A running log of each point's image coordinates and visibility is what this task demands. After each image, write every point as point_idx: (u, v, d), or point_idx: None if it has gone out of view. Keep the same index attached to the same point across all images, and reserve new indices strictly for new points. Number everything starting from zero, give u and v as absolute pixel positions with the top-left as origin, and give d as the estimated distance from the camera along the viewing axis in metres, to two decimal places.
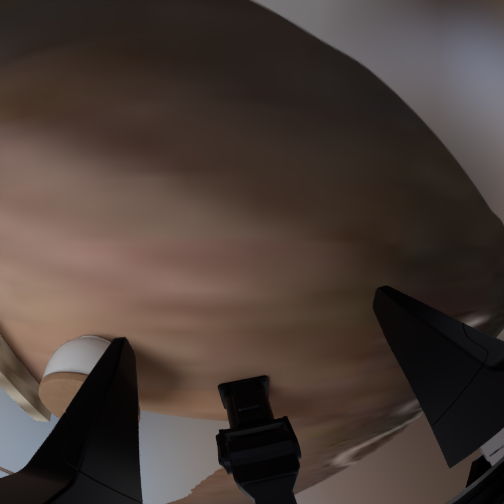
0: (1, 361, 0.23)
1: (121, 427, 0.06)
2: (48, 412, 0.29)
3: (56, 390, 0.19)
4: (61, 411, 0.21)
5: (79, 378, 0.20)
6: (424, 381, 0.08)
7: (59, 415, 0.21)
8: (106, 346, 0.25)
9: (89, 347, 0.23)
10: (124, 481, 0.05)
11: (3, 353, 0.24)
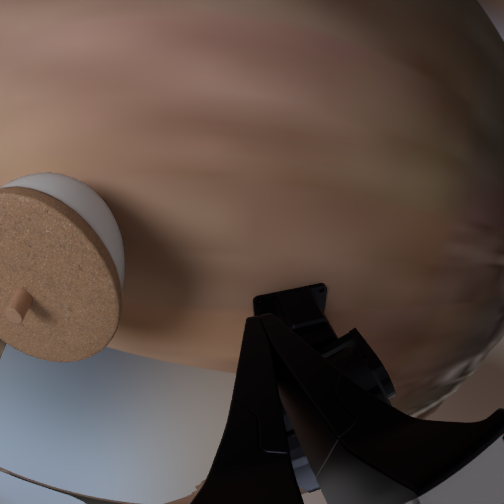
0: None
1: None
2: None
3: None
4: None
5: (16, 191, 0.09)
6: (299, 430, 0.07)
7: None
8: (82, 182, 0.14)
9: (53, 173, 0.13)
10: None
11: None
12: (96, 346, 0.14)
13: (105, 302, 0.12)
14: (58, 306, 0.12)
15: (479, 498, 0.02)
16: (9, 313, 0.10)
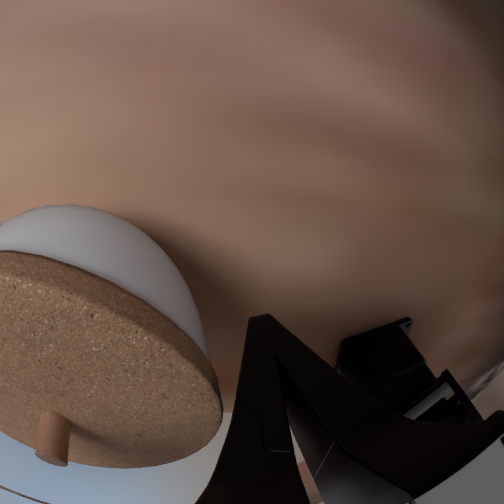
0: None
1: None
2: None
3: None
4: None
5: (13, 267, 0.04)
6: (297, 430, 0.07)
7: None
8: (125, 220, 0.10)
9: (77, 208, 0.08)
10: None
11: None
12: (173, 459, 0.09)
13: (202, 425, 0.08)
14: (118, 432, 0.07)
15: (476, 500, 0.02)
16: (43, 457, 0.05)
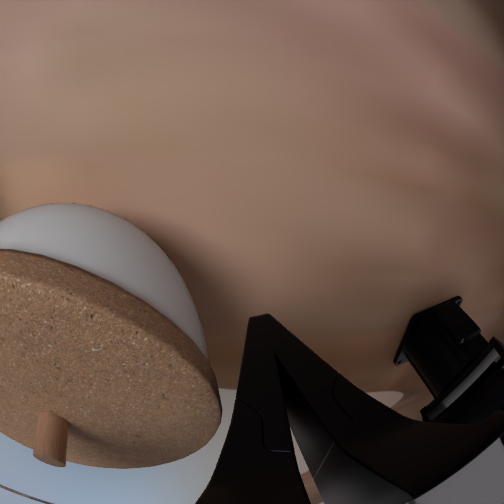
0: None
1: None
2: None
3: None
4: None
5: (12, 266, 0.04)
6: (297, 430, 0.07)
7: None
8: (124, 219, 0.09)
9: (76, 206, 0.08)
10: None
11: None
12: (171, 459, 0.09)
13: (201, 426, 0.07)
14: (117, 433, 0.07)
15: (476, 500, 0.02)
16: (41, 457, 0.05)
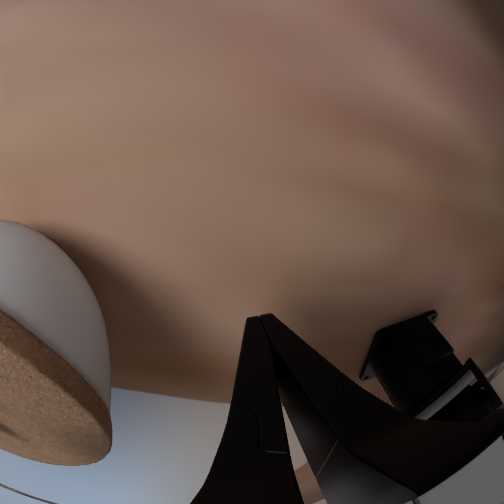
0: None
1: None
2: None
3: None
4: None
5: None
6: (299, 430, 0.07)
7: None
8: (37, 234, 0.09)
9: None
10: None
11: None
12: (85, 462, 0.08)
13: (88, 436, 0.07)
14: (24, 429, 0.06)
15: (479, 498, 0.02)
16: None
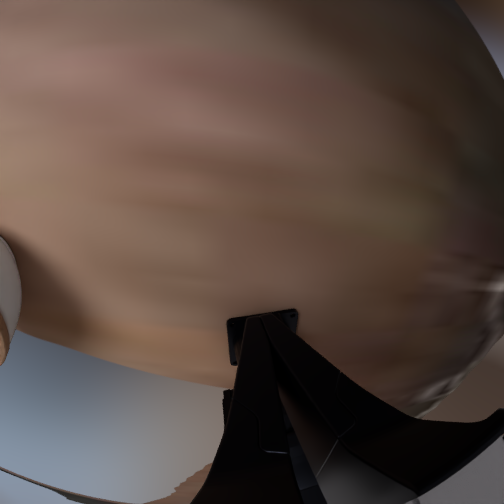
0: None
1: None
2: None
3: None
4: None
5: None
6: (299, 430, 0.07)
7: None
8: None
9: None
10: None
11: None
12: None
13: None
14: None
15: (479, 498, 0.02)
16: None
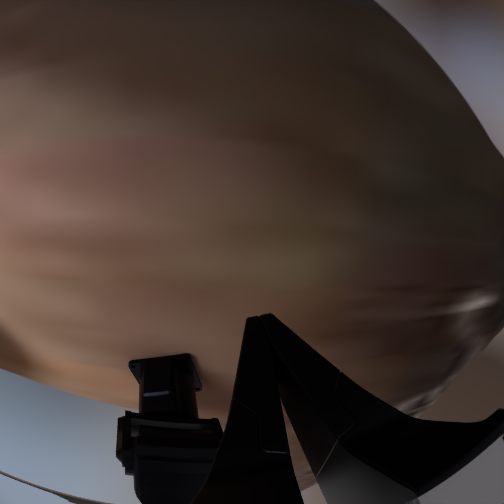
0: None
1: None
2: None
3: None
4: None
5: None
6: (299, 430, 0.07)
7: None
8: None
9: None
10: None
11: None
12: None
13: None
14: None
15: (479, 498, 0.02)
16: None
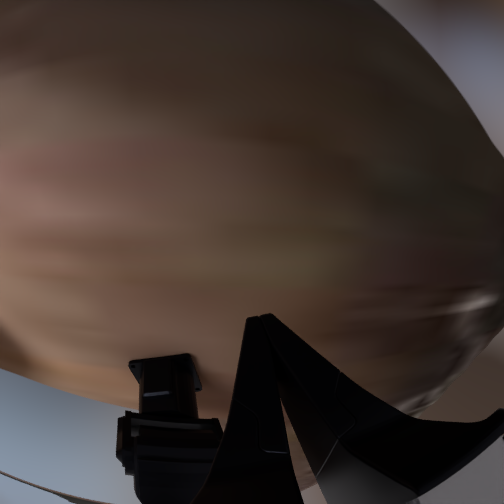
0: None
1: None
2: None
3: None
4: None
5: None
6: (299, 430, 0.07)
7: None
8: None
9: None
10: None
11: None
12: None
13: None
14: None
15: (479, 498, 0.02)
16: None
